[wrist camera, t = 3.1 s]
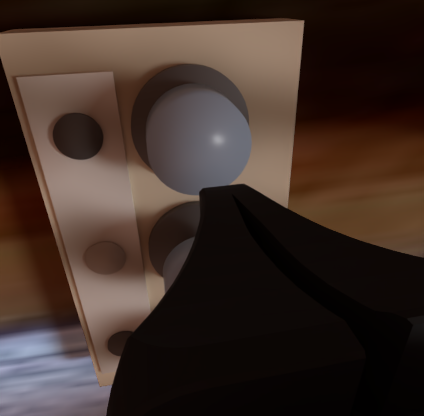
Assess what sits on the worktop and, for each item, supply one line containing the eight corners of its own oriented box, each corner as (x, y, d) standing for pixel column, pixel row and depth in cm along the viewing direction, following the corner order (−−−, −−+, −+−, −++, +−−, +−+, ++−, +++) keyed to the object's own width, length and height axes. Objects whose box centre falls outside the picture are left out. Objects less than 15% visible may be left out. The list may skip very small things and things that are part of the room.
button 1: (238, 170, 17) (250, 189, 15) (151, 179, 16) (153, 200, 14) (239, 79, 15) (253, 90, 13) (139, 86, 14) (140, 98, 12)
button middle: (243, 293, 19) (253, 322, 17) (166, 305, 18) (170, 336, 17) (244, 229, 17) (256, 255, 15) (158, 240, 16) (161, 269, 15)
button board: (263, 327, 28) (276, 360, 25) (102, 355, 26) (99, 393, 23) (282, 18, 17) (309, 21, 14) (12, 29, 15) (-12, 35, 13)
